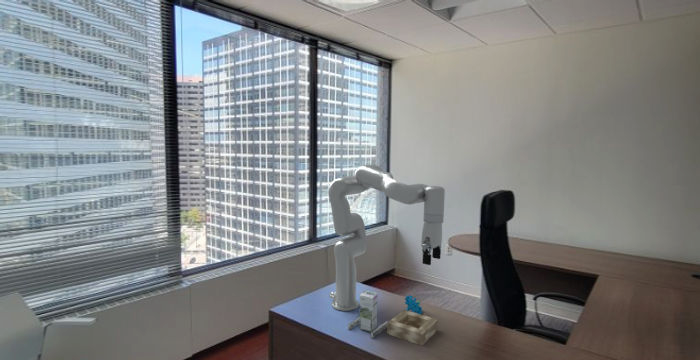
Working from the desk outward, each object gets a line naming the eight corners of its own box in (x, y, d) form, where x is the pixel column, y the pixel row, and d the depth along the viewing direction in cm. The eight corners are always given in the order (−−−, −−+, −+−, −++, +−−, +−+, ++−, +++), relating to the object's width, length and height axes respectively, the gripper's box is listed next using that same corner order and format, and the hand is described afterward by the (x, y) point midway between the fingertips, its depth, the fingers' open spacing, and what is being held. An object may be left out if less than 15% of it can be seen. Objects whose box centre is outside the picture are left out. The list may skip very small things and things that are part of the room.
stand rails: (347, 329, 151) (347, 324, 151) (363, 318, 161) (363, 314, 161) (372, 338, 144) (373, 333, 144) (388, 326, 154) (388, 321, 154)
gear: (415, 317, 160) (403, 296, 164) (406, 323, 162) (394, 303, 167) (427, 312, 168) (415, 292, 173) (418, 318, 171) (406, 299, 175)
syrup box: (377, 326, 154) (378, 292, 153) (371, 332, 149) (372, 297, 147) (364, 323, 156) (365, 289, 155) (358, 329, 151) (359, 294, 150)
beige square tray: (386, 333, 148) (387, 322, 148) (404, 319, 160) (404, 309, 160) (422, 345, 139) (422, 334, 139) (437, 330, 152) (437, 319, 151)
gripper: (432, 213, 154) (431, 254, 155) (415, 220, 139) (413, 264, 141) (450, 216, 149) (448, 257, 151) (434, 222, 135) (432, 268, 137)
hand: (431, 261), depth 146 cm, fingers open, 9 cm apart
